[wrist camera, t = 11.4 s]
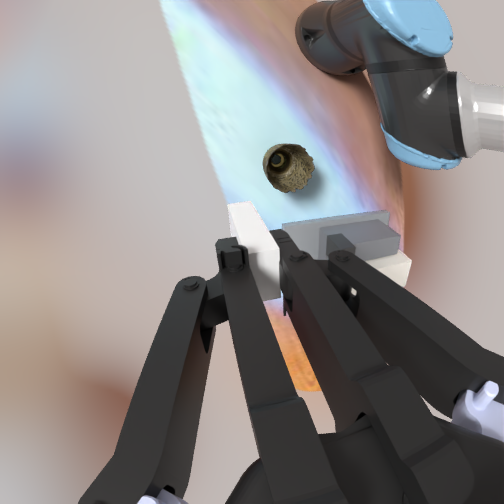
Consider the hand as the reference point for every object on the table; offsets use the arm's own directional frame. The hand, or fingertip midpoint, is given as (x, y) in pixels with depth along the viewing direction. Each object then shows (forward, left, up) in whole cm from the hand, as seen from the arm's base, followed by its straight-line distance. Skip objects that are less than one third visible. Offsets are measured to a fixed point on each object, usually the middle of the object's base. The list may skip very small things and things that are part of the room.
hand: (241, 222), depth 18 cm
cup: (-4, +10, -30) cm, 32 cm away
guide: (+7, +32, -29) cm, 44 cm away
